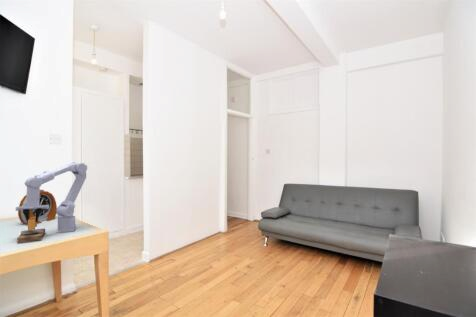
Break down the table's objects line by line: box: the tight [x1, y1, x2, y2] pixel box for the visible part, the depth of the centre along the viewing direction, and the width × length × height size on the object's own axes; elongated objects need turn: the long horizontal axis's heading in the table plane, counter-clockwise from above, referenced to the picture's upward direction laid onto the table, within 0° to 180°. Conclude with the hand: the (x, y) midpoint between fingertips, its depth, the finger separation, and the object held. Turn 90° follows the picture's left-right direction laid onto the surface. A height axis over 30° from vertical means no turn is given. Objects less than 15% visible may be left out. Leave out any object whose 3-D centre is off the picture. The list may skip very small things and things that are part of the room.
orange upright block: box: [27, 217, 38, 230], centre depth 139 cm, size 3×7×6 cm, turn 32°
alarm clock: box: [17, 189, 58, 225], centre depth 173 cm, size 22×10×23 cm, turn 171°
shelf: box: [16, 228, 46, 245], centre depth 139 cm, size 10×15×5 cm, turn 32°
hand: (32, 222), depth 139 cm, fingers closed on orange upright block, 3 cm apart
